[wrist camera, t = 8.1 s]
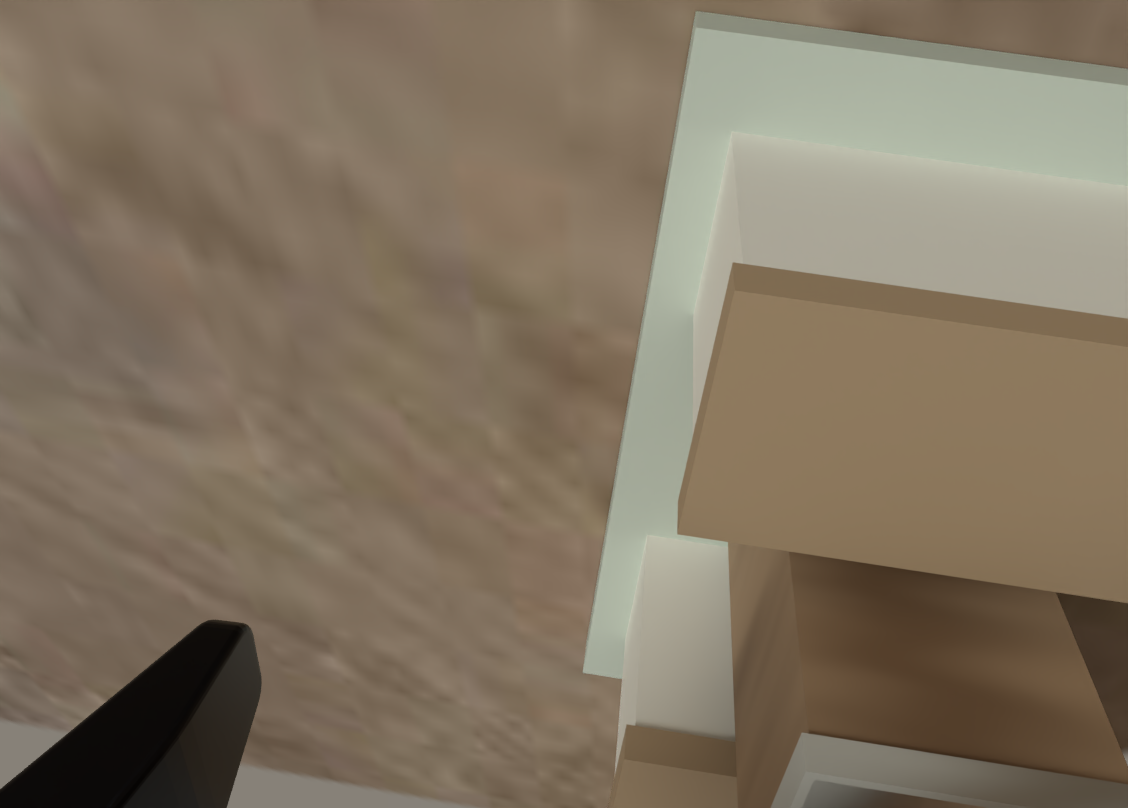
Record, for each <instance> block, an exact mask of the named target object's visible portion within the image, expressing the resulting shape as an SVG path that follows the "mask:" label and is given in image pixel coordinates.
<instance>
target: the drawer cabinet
mask: <svg viewBox="0 0 1128 808" xmlns="http://www.w3.org/2000/svg"><path fill="white" fill-rule="evenodd" d="M728 542H730V543H737V544H744V545H750V546H757V547H763V548H770V549H776V550H783V551H789V552H796V553H802V554H809V555H816V556H822V557H829V558H835V559H842V560H848V561H855V562H861V563H868V564H874V565H881V566H888V567H894V568H901V569H907V570H914V571H920V572H927V573H933V574H940V575H946V576H953V577H960V578H966V579H973V580H979V581H986V582H992V583H999V584H1005V585H1012V586H1018V587H1025V588H1032V589H1038V590H1045V591H1051V592H1058V593H1064V594H1071V595H1077V596H1084V597H1090V598H1097V599H1104V600H1110V601H1117V602H1123V603H1128V69H1125V68H1117V67H1110V66H1102V65H1095V64H1087V63H1080V62H1073V61H1065V60H1058V59H1050V58H1043V57H1035V56H1028V55H1020V54H1013V53H1005V52H998V51H990V50H983V49H976V48H968V47H961V46H953V45H946V44H938V43H931V42H923V41H916V40H908V39H901V38H893V37H886V36H879V35H871V34H864V33H856V32H849V31H841V30H834V29H826V28H819V27H811V26H804V25H796V24H789V23H782V22H774V21H767V20H759V19H752V18H744V17H737V16H729V15H722V14H714V13H707V12H699V11H696V13H695V18H694V24H693V30H692V36H691V41H690V47H689V53H688V59H687V65H686V70H685V76H684V82H683V88H682V93H681V99H680V105H679V111H678V116H677V122H676V128H675V134H674V140H673V145H672V151H671V157H670V163H669V168H668V174H667V180H666V186H665V191H664V197H663V203H662V209H661V215H660V220H659V226H658V232H657V238H656V243H655V249H654V255H653V261H652V266H651V272H650V278H649V284H648V290H647V295H646V301H645V307H644V313H643V318H642V324H641V330H640V336H639V341H638V347H637V353H636V359H635V365H634V370H633V376H632V382H631V388H630V393H629V399H628V405H627V411H626V417H625V422H624V428H623V434H622V440H621V445H620V451H619V457H618V463H617V468H616V474H615V480H614V486H613V492H612V497H611V503H610V509H609V515H608V520H607V526H606V532H605V538H604V543H603V549H602V555H601V561H600V567H599V572H598V578H597V584H596V590H595V595H594V601H593V607H592V613H591V618H590V624H589V630H588V636H587V642H586V650H585V659H584V667H583V673H587V674H594V675H600V676H606V677H613V678H619V679H622V688H621V701H620V714H619V726H618V739H617V752H616V765H615V777H614V781H613V786H612V790H611V794H610V799H609V803H608V808H738V798H737V771H736V744H735V718H734V691H733V665H732V638H731V612H730V585H729V559H728Z"/></svg>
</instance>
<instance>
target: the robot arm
mask: <svg viewBox="0 0 1128 808" xmlns="http://www.w3.org/2000/svg"><path fill="white" fill-rule="evenodd" d="M260 693H261V672H260V667H259V662H258V657H257V652H256V647H255V642H254V637H253V633H252V630H251V629H250V627H249V626H248V625H247V624H244V623H238V622H230V621H222V620H208V621H206V622H204V623H202V624H200V625H199V626H197V627H196V628H195V629H194V630H193V631H191V632H190V633H189V634H188V635H187V636H185V637H184V638H183V639H182V640H181V641H179V642H178V643H177V644H176V645H174V646H173V647H172V648H171V649H170V650H168V651H167V652H166V653H165V654H164V655H162V656H161V657H160V658H159V659H157V660H156V661H155V662H154V663H153V664H151V665H150V666H149V667H148V668H147V669H145V670H144V671H143V672H142V673H141V674H139V675H138V676H137V677H136V678H134V679H133V680H132V681H131V682H130V683H128V684H127V685H126V686H125V687H124V688H122V689H121V690H120V691H119V692H117V693H116V694H115V695H114V696H113V697H111V698H110V699H109V700H108V701H107V702H105V703H104V704H103V705H102V706H101V707H99V708H98V709H97V710H96V711H94V712H93V713H92V714H91V715H90V716H88V717H87V718H86V719H85V720H84V721H82V722H81V723H80V724H79V725H77V726H76V727H75V728H74V729H73V730H71V731H70V732H69V733H68V734H67V735H65V736H64V737H63V738H62V739H61V740H59V741H58V742H57V743H56V744H54V745H53V746H52V747H51V748H50V749H49V750H47V751H46V752H45V753H44V754H42V755H41V756H40V757H39V758H38V759H36V760H35V761H34V762H33V763H31V764H30V765H29V766H28V767H27V768H25V769H24V770H23V771H22V772H21V773H19V774H18V775H17V776H16V777H14V778H13V779H12V780H11V781H10V782H8V783H7V784H6V785H5V786H4V787H3V788H1V789H0V808H227V805H228V801H229V798H230V795H231V791H232V788H233V785H234V781H235V778H236V775H237V771H238V768H239V765H240V762H241V758H242V755H243V752H244V748H245V745H246V742H247V739H248V735H249V732H250V729H251V725H252V722H253V719H254V715H255V712H256V709H257V706H258V702H259V698H260Z"/></svg>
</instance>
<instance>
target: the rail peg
mask: <svg viewBox="0 0 1128 808" xmlns="http://www.w3.org/2000/svg"><path fill="white" fill-rule="evenodd" d="M728 559H729V585H730V612H731V638H732V665H733V691H734V718H735V744H736V771H737V798H738V808H1128V766H1127V764H1126V761H1125V758H1124V756H1123V754H1122V751H1121V749H1120V746H1119V744H1118V742H1117V739H1116V737H1115V734H1114V732H1113V729H1112V727H1111V725H1110V722H1109V720H1108V717H1107V715H1106V713H1105V710H1104V708H1103V705H1102V703H1101V700H1100V698H1099V696H1098V693H1097V691H1096V688H1095V686H1094V684H1093V681H1092V679H1091V676H1090V674H1089V671H1088V669H1087V667H1086V664H1085V662H1084V659H1083V657H1082V655H1081V652H1080V650H1079V647H1078V645H1077V642H1076V640H1075V638H1074V635H1073V633H1072V630H1071V628H1070V626H1069V623H1068V621H1067V618H1066V616H1065V613H1064V611H1063V609H1062V606H1061V604H1060V601H1059V599H1058V596H1057V594H1056V592H1051V591H1045V590H1038V589H1032V588H1025V587H1018V586H1012V585H1005V584H999V583H992V582H986V581H979V580H973V579H966V578H960V577H953V576H946V575H940V574H933V573H927V572H920V571H914V570H907V569H901V568H894V567H888V566H881V565H874V564H868V563H861V562H855V561H848V560H842V559H835V558H829V557H822V556H816V555H809V554H802V553H796V552H789V551H783V550H776V549H770V548H763V547H757V546H750V545H744V544H737V543H730V542H728Z"/></svg>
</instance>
